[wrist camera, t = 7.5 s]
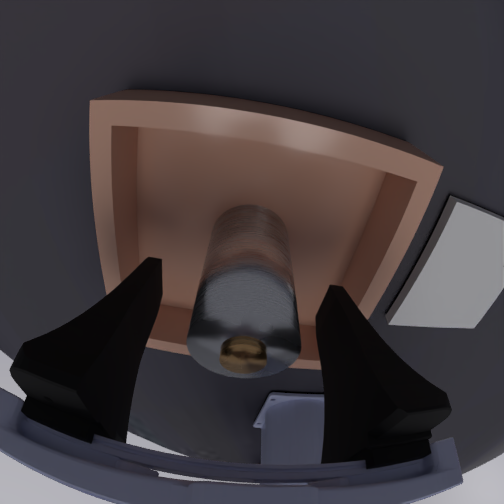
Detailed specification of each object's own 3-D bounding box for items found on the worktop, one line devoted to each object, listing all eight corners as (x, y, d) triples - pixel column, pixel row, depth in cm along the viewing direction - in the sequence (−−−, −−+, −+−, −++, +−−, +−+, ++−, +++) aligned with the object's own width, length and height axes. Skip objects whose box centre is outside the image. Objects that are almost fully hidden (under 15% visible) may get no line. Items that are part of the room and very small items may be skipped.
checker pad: (470, 321, 21) (474, 329, 20) (385, 316, 20) (388, 326, 19) (529, 229, 15) (536, 236, 14) (450, 195, 14) (458, 203, 13)
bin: (326, 330, 21) (333, 370, 18) (133, 301, 20) (117, 340, 17) (408, 142, 13) (443, 166, 10) (126, 89, 12) (90, 100, 9)
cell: (278, 273, 17) (285, 392, 11) (208, 262, 17) (184, 380, 11) (296, 212, 15) (319, 332, 9) (215, 198, 14) (184, 314, 8)
